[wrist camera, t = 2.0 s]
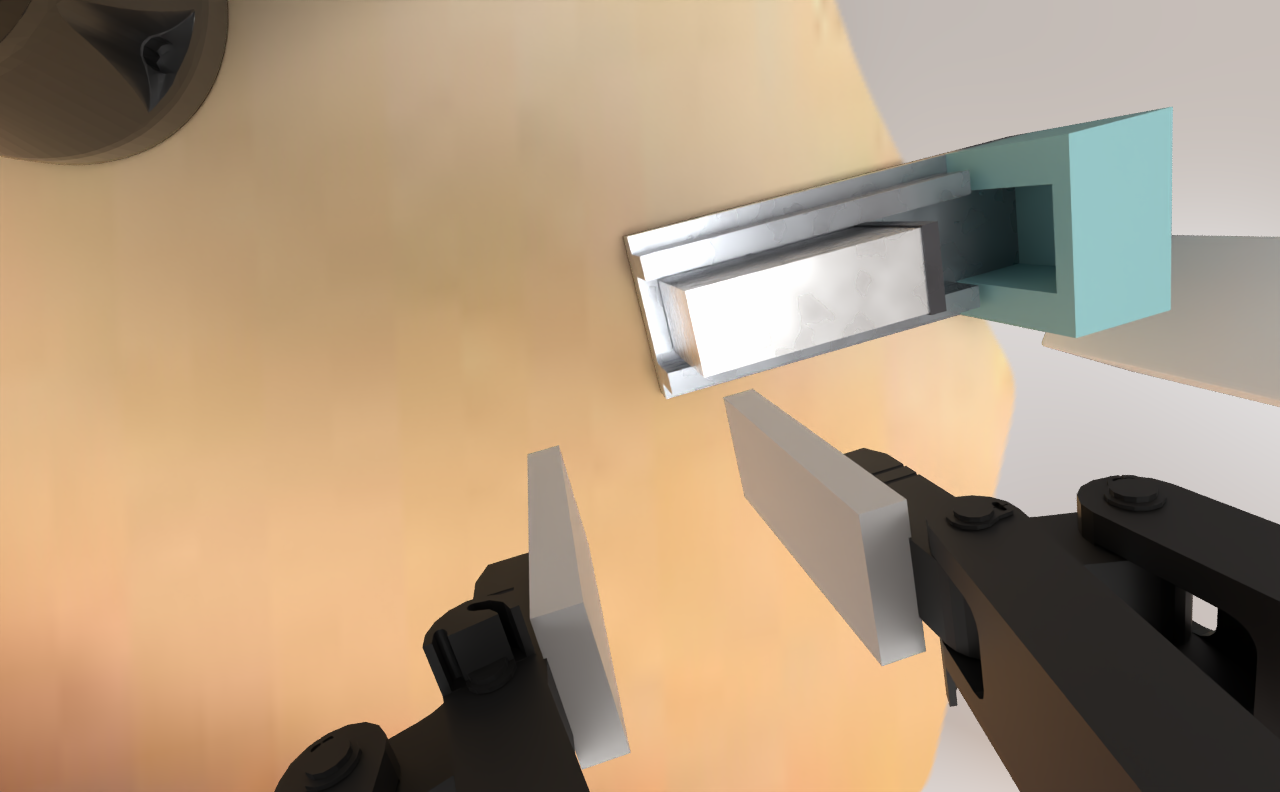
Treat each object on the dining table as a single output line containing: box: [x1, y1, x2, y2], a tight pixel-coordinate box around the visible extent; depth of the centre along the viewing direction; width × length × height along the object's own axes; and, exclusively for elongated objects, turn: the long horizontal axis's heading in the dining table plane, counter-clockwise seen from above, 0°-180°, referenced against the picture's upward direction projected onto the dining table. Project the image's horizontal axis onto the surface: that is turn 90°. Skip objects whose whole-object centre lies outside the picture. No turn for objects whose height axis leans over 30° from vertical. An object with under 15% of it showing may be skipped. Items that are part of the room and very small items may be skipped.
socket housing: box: [946, 107, 1173, 338], centre depth 32 cm, size 9×5×8 cm, turn 14°
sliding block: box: [658, 221, 947, 378], centre depth 32 cm, size 4×12×6 cm, turn 104°
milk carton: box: [1042, 235, 1280, 407], centre depth 31 cm, size 7×7×19 cm
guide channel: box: [623, 133, 1026, 399], centre depth 35 cm, size 9×23×4 cm, turn 104°
